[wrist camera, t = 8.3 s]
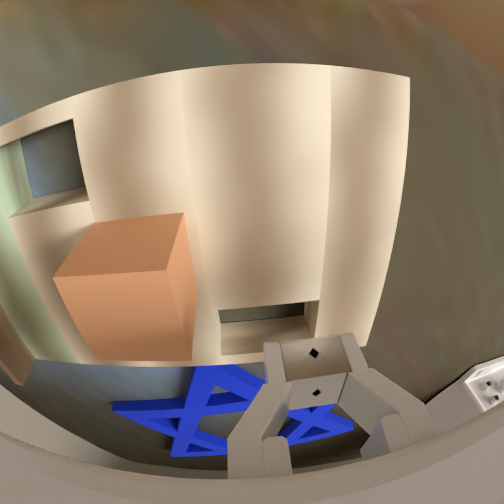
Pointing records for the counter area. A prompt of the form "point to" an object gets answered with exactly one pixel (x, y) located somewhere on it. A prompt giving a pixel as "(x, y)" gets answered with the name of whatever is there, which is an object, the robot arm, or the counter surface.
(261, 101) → the board
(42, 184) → the counter surface
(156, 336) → the block
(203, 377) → the symbol
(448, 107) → the counter surface
